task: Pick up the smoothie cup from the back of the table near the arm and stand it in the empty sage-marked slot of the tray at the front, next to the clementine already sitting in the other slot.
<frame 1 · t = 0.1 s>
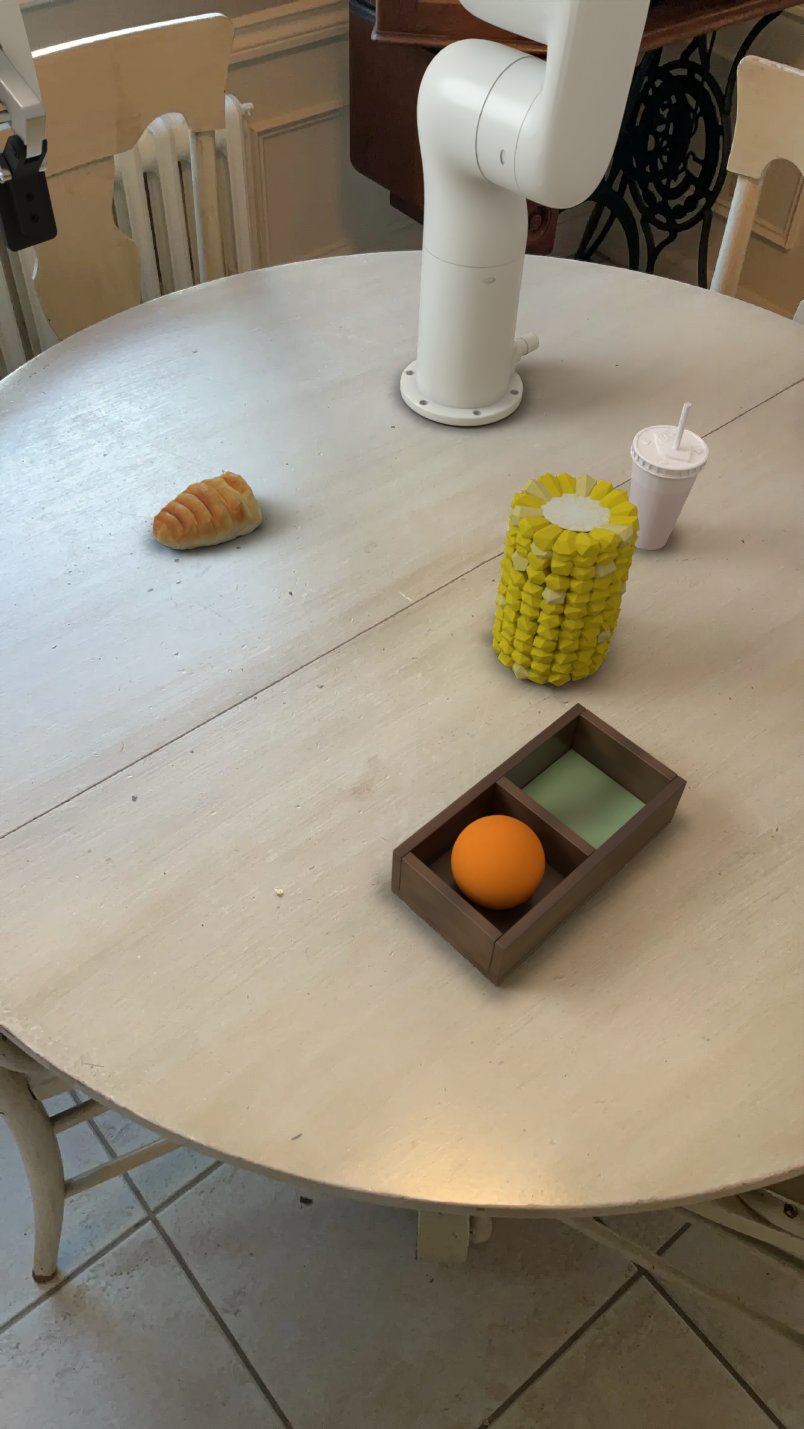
clementine: (497, 862, 67), point 4 cm above the table, touching tray
tray: (535, 854, 72), on the table
pastry: (213, 527, 94), on the table
food: (548, 647, 86), on the table
smoothie: (645, 538, 95), on the table
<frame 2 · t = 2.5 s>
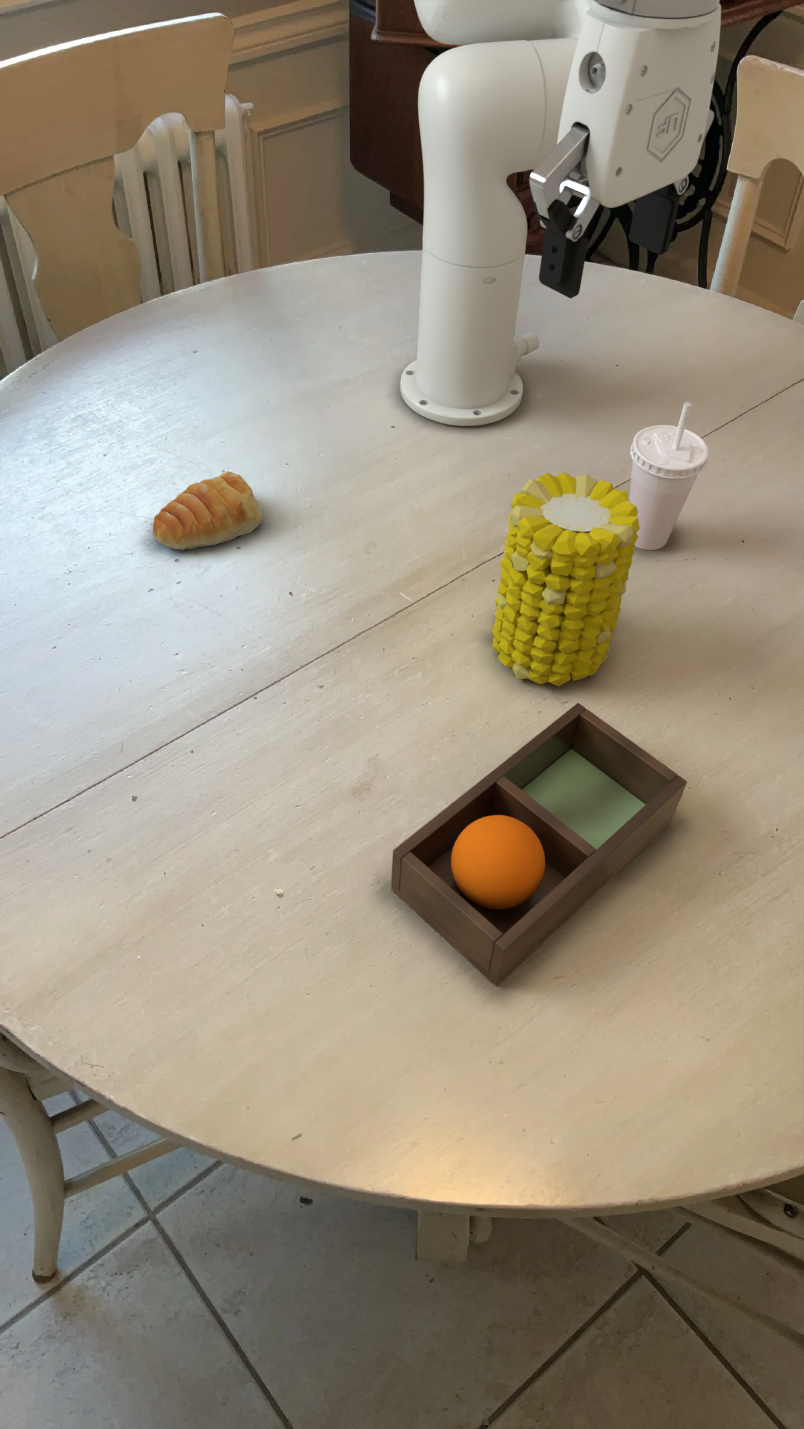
hand: (604, 267, 74), 26 cm above the table, tool pointing down, fingers open, 9 cm apart
nothing on the table moved.
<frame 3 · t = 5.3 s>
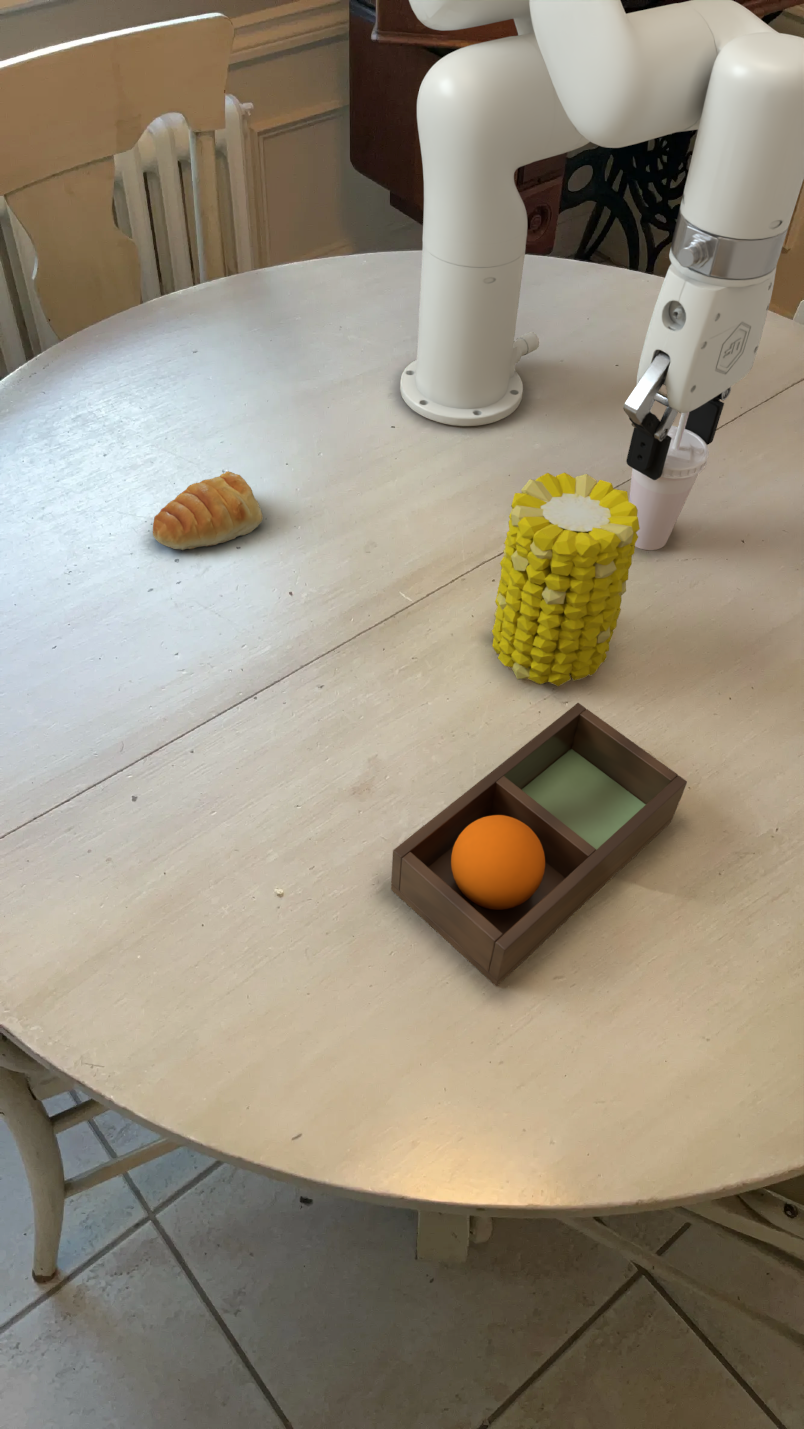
hand: (669, 452, 88), 9 cm above the table, tool pointing down, fingers closed on smoothie, 6 cm apart
smoothie: (645, 538, 95), on the table, touching gripper
everything else where it was.
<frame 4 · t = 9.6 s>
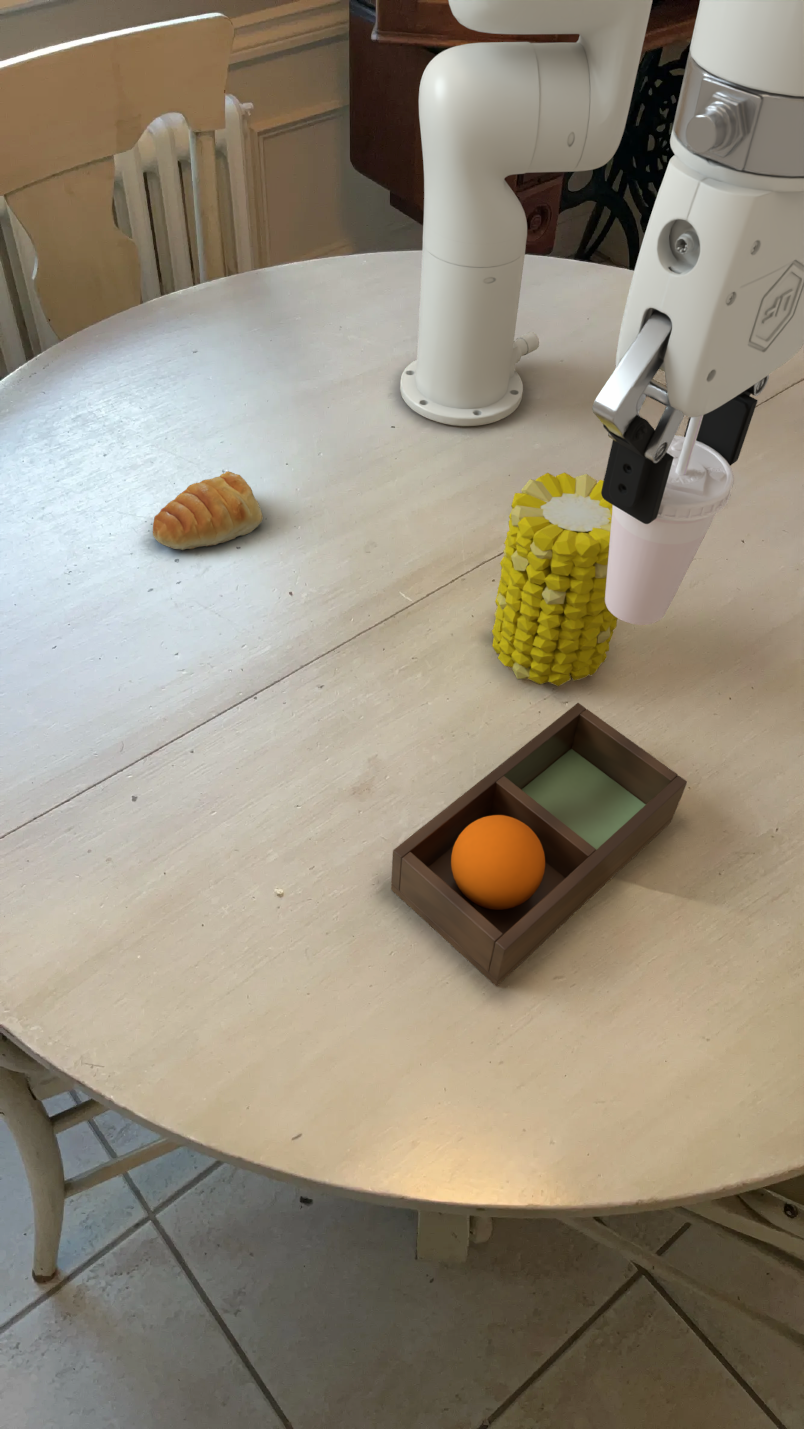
hand: (670, 478, 56), 27 cm above the table, tool pointing down, fingers closed on smoothie, 6 cm apart
smoothie: (635, 605, 63), point 18 cm above the table, touching gripper
everything else where it was.
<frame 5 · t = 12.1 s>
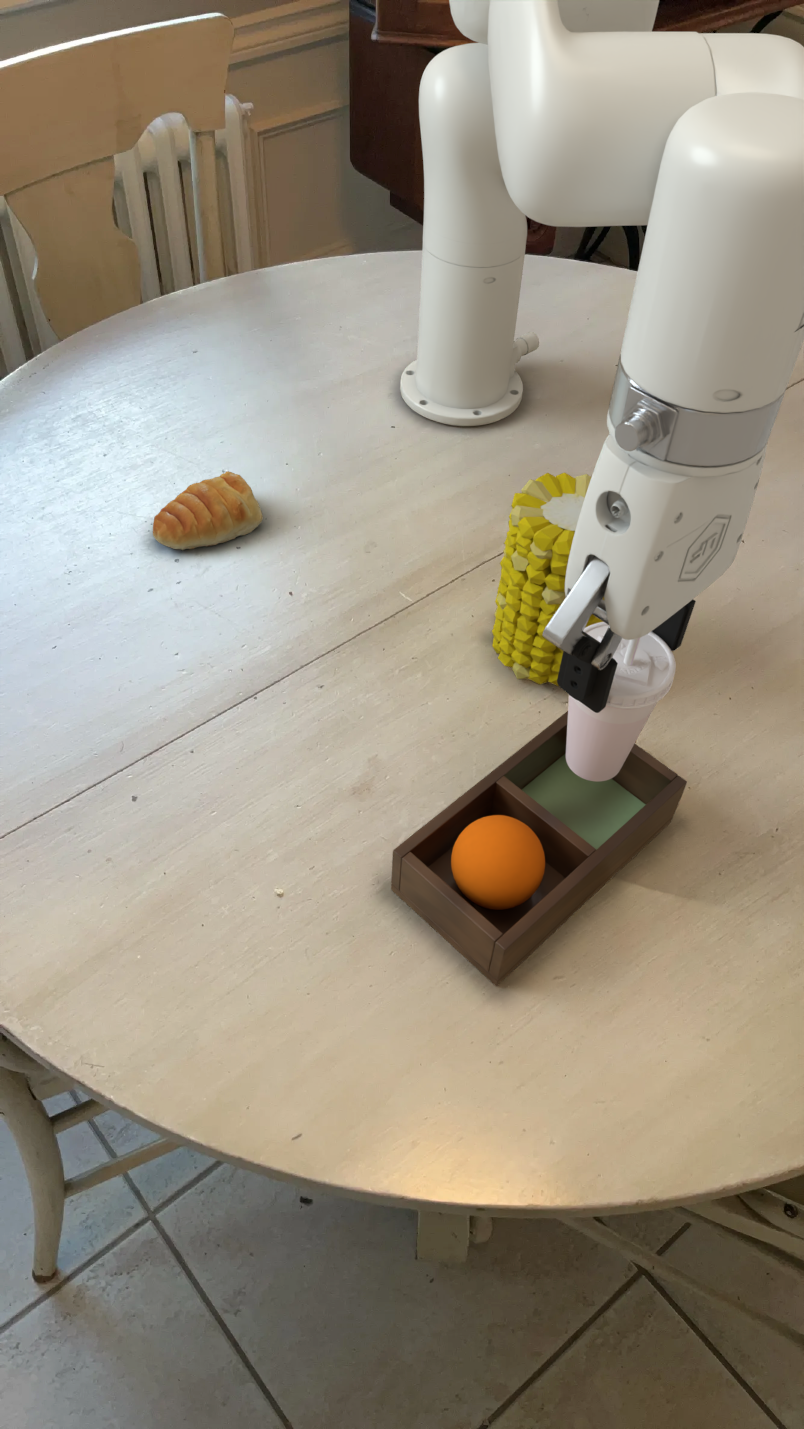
hand: (619, 664, 62), 16 cm above the table, tool pointing down, fingers closed on smoothie, 6 cm apart
smoothie: (593, 760, 69), point 7 cm above the table, touching gripper
everything else where it was.
when the fingers open (10 cm above the table, at t = 14.1 s): smoothie stays where it is, resting on tray.
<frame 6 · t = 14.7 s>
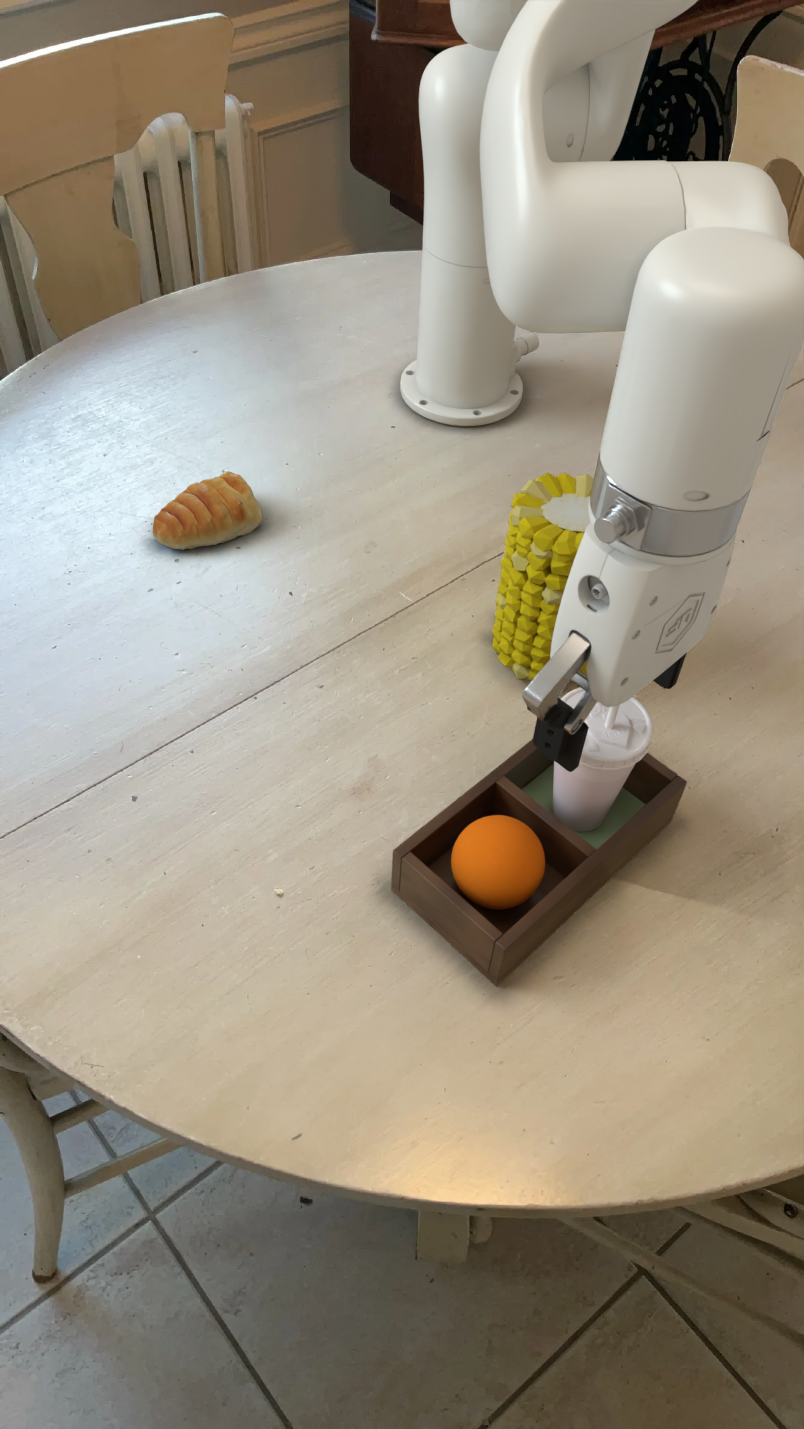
hand: (605, 714, 66), 11 cm above the table, tool pointing down, fingers open, 9 cm apart
smoothie: (578, 811, 74), point 1 cm above the table, touching tray
everything else where it was.
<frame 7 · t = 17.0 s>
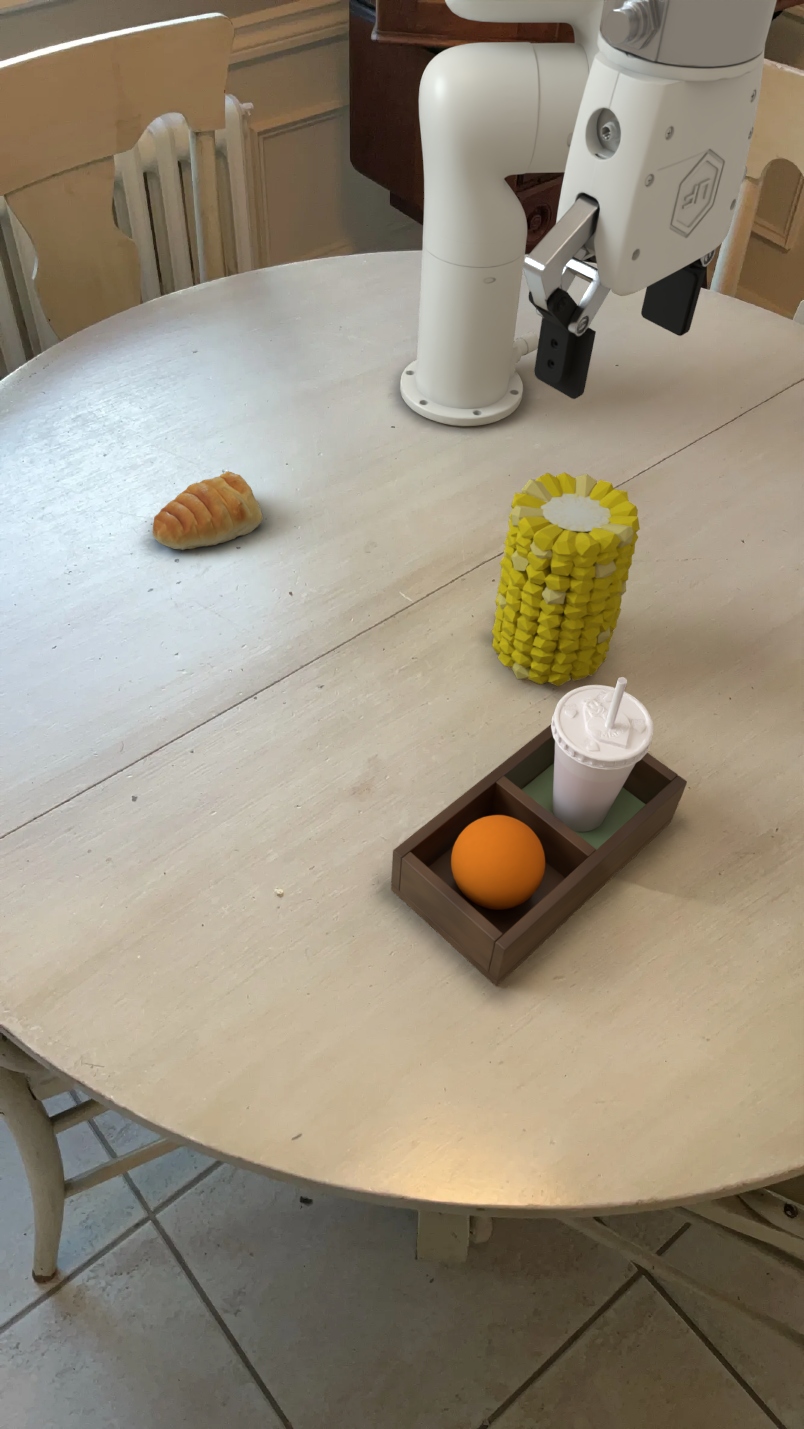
hand: (612, 354, 61), 29 cm above the table, tool pointing down, fingers open, 9 cm apart
nothing on the table moved.
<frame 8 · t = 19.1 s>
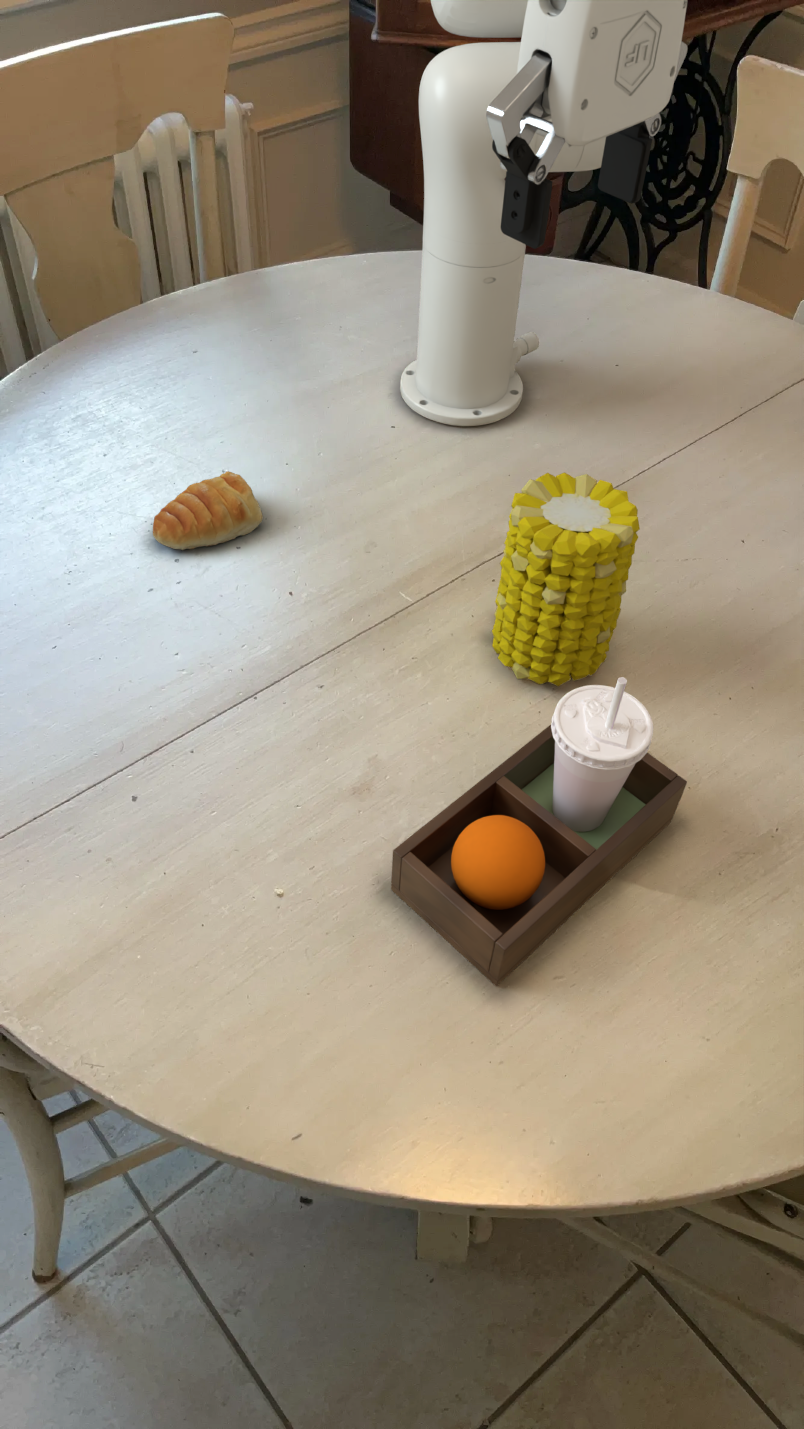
hand: (571, 216, 68), 30 cm above the table, tool pointing down, fingers open, 9 cm apart
nothing on the table moved.
at the end: smoothie 0.1 cm from the target spot in the tray, point 0.8 cm above the tray's base; smoothie tilted 0°; clementine 0.0 cm from the target spot in the tray, point 3.8 cm above the tray's base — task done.
